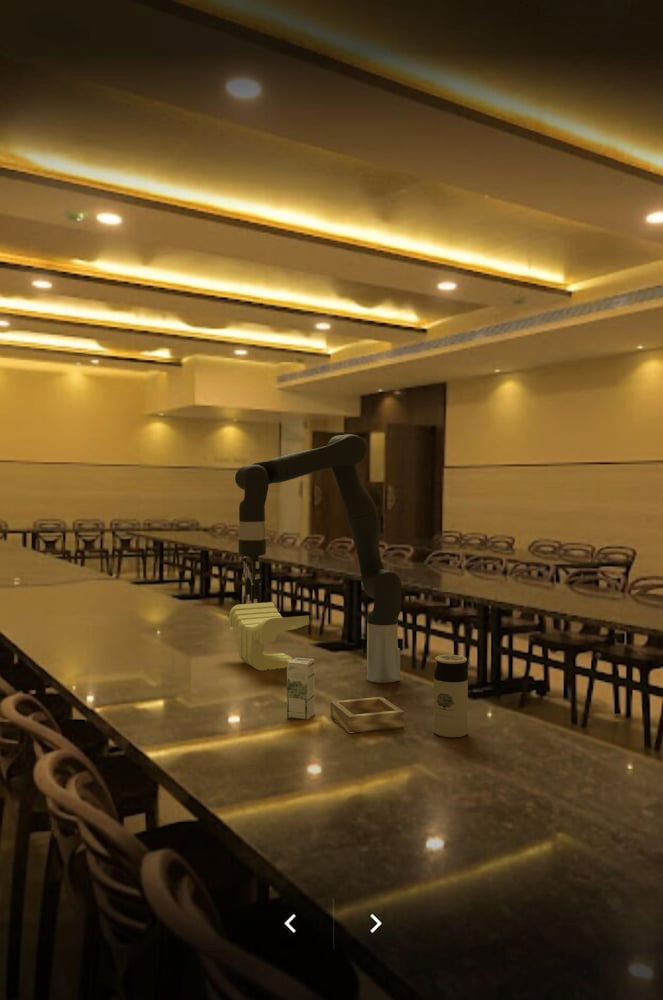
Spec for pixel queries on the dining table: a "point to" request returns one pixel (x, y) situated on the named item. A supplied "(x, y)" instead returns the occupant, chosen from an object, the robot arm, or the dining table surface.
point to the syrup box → (300, 688)
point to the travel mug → (450, 696)
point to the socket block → (367, 714)
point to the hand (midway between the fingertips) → (252, 596)
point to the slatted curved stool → (261, 633)
